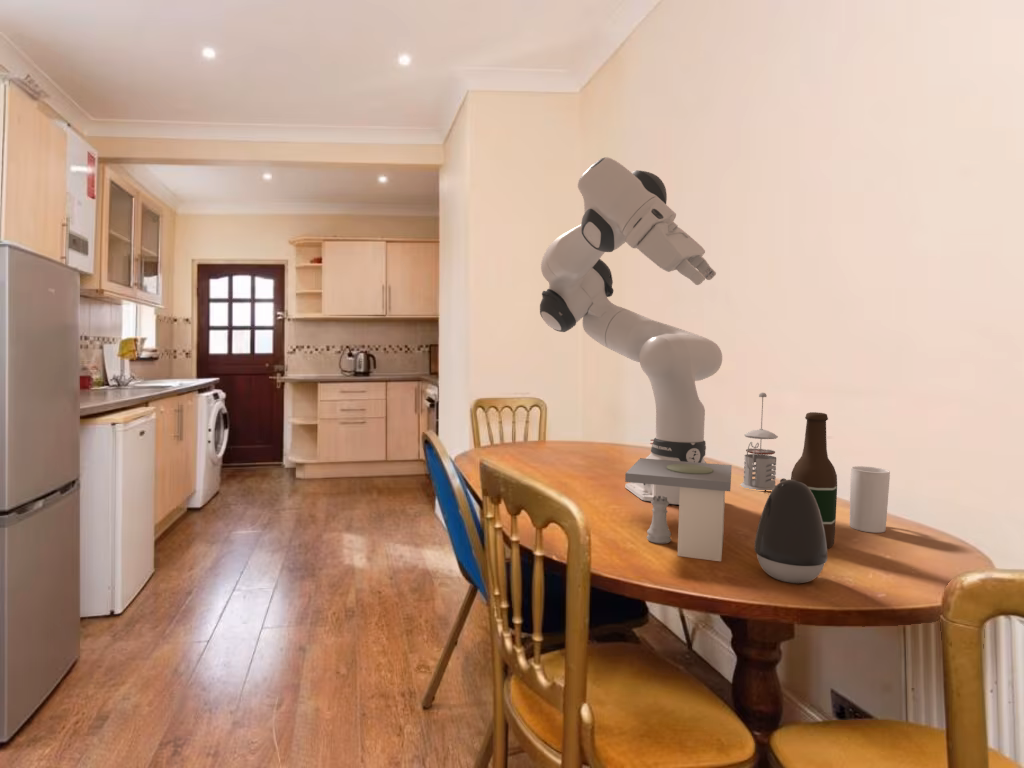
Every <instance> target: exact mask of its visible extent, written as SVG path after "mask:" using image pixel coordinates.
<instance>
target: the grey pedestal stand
mask: <svg viewBox="0 0 1024 768" xmlns="http://www.w3.org/2000/svg"><path fill="white" fill-rule="evenodd" d="M645 458H646V457H645ZM645 458H641V457H640V458H639V459H638V460H637V461H636V462H635V463H634V464H633V465H632V466H631V467H630V468H629V469H628V470H627V471H626V472H625V475H624V476H625V477H624V478H625V480H624V482H625V483H631V482H632V483H643V484H654V485H665V486H676V487H680V496H679V504H678V526H677V527H678V529H677V530H678V531H677V532H678V533H677V555H676V556H677V557H683V558H691V559H699V560H707V561H714V562H722V558H723V557H722V555H723V544H724V529H725V527H724V525H725V523H724V522H725V501H726V499H725V498H726V492H731V486H732V469H733V468H732V467H733V466H732V464H721V463H710V462H709V463H707V462H706V463H697V462H684V461H671V460H658V459H645Z"/></svg>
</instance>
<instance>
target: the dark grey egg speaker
mask: <svg viewBox="0 0 1024 768" xmlns="http://www.w3.org/2000/svg"><path fill="white" fill-rule="evenodd" d="M775 485H776V487H775V488H774V489H773V490H772V492H770V493H769V495H768V497H767V500H766V502H765V505H764V507H763V510H762V512H761V515H760V518H759V521H758V525H757V528H756V529H757V530H756V534H755V540H754V549H753V550H754V552H755V553H756V558H757V561H758V563H759V565H760V567H761V568H762V570H763V571H764V572H765V573H766V574H767V575H769V576H770V577H772V578H773V579H774V580H775V579H776V580H778V581H781V582H784V583H788V584H789V583H790V584H804V583H809V582H811V581H813V580H814V579H817V578H818V576H820V574H821V573H822V571H823V568H824V566H825V564H826V563H827V561H828V549H827V543H826V536H825V530H824V525H823V521H822V517H821V513H820V510H819V507H818V504H817V502H816V499H815V497H814V495H813V493H812V492H811V490H810V489H809V487H808V486H807V485H805V484H804V483H802V482H800V481H798V480H791V479H786V478H781V479H780V480H779V482H778V483H777V484H775Z"/></svg>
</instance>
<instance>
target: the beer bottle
mask: <svg viewBox="0 0 1024 768" xmlns="http://www.w3.org/2000/svg"><path fill="white" fill-rule="evenodd" d="M804 418H805V420H806V424H805V425H806V426H805V435H804V441H803V443H804V445H803V449H802V454H801V457H800V458H798V460H797V462H796V463H795V464H794V466H793V469H792V471H791V475H790V480H798V481H800V482H802V483H804V484H805V485H807V486H808V487H809V489H810V490H811V492H812V493H813V495H814V497H815V499H816V502H817V504H818V507H819V510H820V513H821V517H822V521H823V525H824V530H825V536H826V543H827V550H828V549H830V548H832V546H833V545H834V544H835V538H836V522H837V521H836V520H837V502H838V501H837V495H838V474H837V472H836V469H835V466H834V465H833V463H832V462H831V460H830V459H829V457H828V456H829V455H828V449H827V447H828V446H827V445H828V444H827V421H828V420H829V417H828V414H827V413H825V412H816V411H815V412H807V413H806V415H805V416H804Z"/></svg>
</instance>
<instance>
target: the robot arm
mask: <svg viewBox="0 0 1024 768" xmlns="http://www.w3.org/2000/svg"><path fill="white" fill-rule="evenodd" d="M577 188H578V190H579V192H580V194H581V196H582V198H583V204H584V205H583V206H584V211H583V212H584V213H583V216H582V217H581V224H579V225H577V226H575V227H573V228H571V229H570V230H568V231H565V232H563V233H562V234H561V235H559V236H558V237H557V238H555V239H554V240H553V241H552V242H551V243H550V244H549V245H548V247H547V248H546V250H545V252H544V254H543V256H542V259H541V263H540V270H541V273H542V276H543V278H544V279H545V280H546V281H547V282H548V283H549V286H548V288H546V290H543V291H542V293H541V297H542V299H541V301H540V303H539V314H540V317H541V319H542V320H543V321H544V322H545V324H547V326H549V327H550V328H551V329H553V330H554V331H557V332H561V333H566V332H567V331H569V330H571V329H572V328H574V327H575V326H576V325H577V323H578V322H579V321H580V320H582V328H583V330H584V332H585V333H586V334H587V335H588V336H589V337H590V338H591V339H592V340H594V341H595V342H597V343H599V345H602V346H603V347H605V348H607V349H609V350H611V351H613V352H615V353H617V354H619V355H621V356H623V357H624V358H625V357H626V358H627V359H629V360H631V361H634V362H637V363H639V364H640V368H641V370H642V371H643V372H644V373H645V375H646V376H647V377H648V380H649V382H650V384H651V388H652V391H653V396H654V403H655V438H653V439H650V441H651V442H650V443H649V444H650V445H651V447H650V454H649V455H647V456H646V457H645V459H658V460H671V461H684V462H697V463H707V462H706V461H705V458H704V457H705V456H706V450H707V446H706V445H707V444H706V440H705V418H706V417H705V415H706V409H705V406H704V404H703V403H702V402H701V400H700V397H699V394H698V391H697V387H696V382H699V381H703V380H705V379H708V378H709V377H712V376H714V375H715V374H717V372H718V371H719V370H720V369H721V366H722V363H723V353H722V350H721V348H720V346H719V345H718V344H717V343H716V342H715V341H713V340H711V339H710V338H708V337H707V338H706V337H704V336H702V335H699V334H696V333H694V332H691V331H687V330H685V329H682V328H678V327H676V326H673V325H669V324H666V323H663V322H660V321H657V320H654V319H651V318H649V317H646V316H644V315H641V314H640V313H636V312H634V311H632V310H629V309H627V308H625V307H621V306H619V305H616V304H614V303H612V302H611V301H610V299H609V298H610V297H612V296H613V294H614V288H613V283H614V282H613V275H612V271H611V269H610V268H609V266H608V265H607V263H605V262H604V261H603V260H602V259H601V258H602V257H603V255H604V254H605V253H612V252H613V251H615V250H617V249H619V248H620V247H622V246H623V245H624V244H625V243H627V245H628V246H629V247H630V248H632V249H637V250H639V252H640V253H642V254H643V255H644V256H645V257H646V258H648V259H649V260H650V261H651V262H653V263H654V264H655V265H656V266H657V267H659V269H662V270H664V271H665V272H668V273H671V272H673V271H677V272H678V273H679V274H680V275H683V276H684V277H686V278H687V279H689V280H690V281H691V282H692V283H693V284H694V285H696V286H699V285H702V283H703V282H704V281H705V280H706V281H711V280H713V279H714V277H715V276H716V274H717V272H716V270H714V269H713V268H712V267H711V266H710V264H709V263H708V261H707V259H705V258H704V257H703V256H704V255H705V254H706V250H705V249H704V248H703V246H702V245H701V244H699V243H698V241H696V240H695V239H694V238H693V237H691V235H689V234H688V233H687V232H686V231H684V230H683V229H682V228H680V227H679V226H678V224H676V223H675V222H674V221H675V219H676V216H677V213H676V212H675V211H674V210H673V209H672V208H671V207H669V205H668V204H667V200H668V196H667V189H666V186H665V183H664V182H663V180H662V179H661V178H660V177H659V176H658V175H656V174H654V173H652V172H650V171H645V170H633V171H630V170H629V169H628V168H627V167H625V166H624V165H622V164H621V163H620V162H618V161H617V160H615V159H613V158H611V157H608V156H606V157H601V158H600V159H598V160H597V161H596V162H594V163H593V164H592V165H590V166H589V167H588V168H587V169H586V170H585V171H584V172H583V173H582V175H581V176H580V178H579V180H578V182H577ZM624 487H625V489H627V490H628V491H630V492H631V493H632V494H633V495H635V496H636V497H637V498H638V499H640V500H641V501H645V502H651V501H652V500H653V497H654V496H657V498H658V496H661V498H662V499H663V496H664V497H667V501H668V502H669V505H679V496H680V487H676V486H665V485H654V484H643V483H632V482H626V483H625V486H624Z"/></svg>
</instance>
